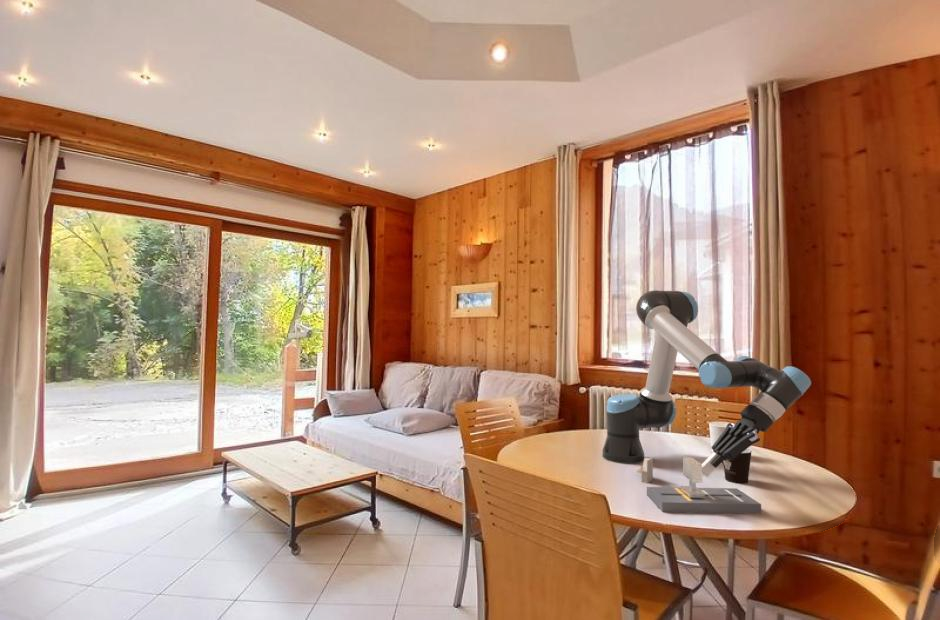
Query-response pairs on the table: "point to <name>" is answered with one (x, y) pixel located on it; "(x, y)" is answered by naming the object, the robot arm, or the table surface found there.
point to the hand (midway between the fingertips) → (702, 472)
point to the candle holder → (716, 431)
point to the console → (703, 500)
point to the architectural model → (647, 470)
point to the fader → (692, 477)
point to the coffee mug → (738, 468)
